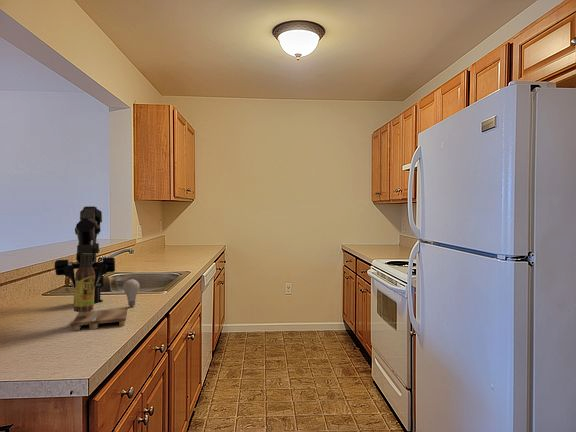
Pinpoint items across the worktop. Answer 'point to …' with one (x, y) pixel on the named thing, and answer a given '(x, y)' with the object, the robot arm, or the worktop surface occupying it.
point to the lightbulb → (131, 291)
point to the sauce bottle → (84, 284)
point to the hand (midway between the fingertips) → (85, 286)
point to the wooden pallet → (100, 318)
